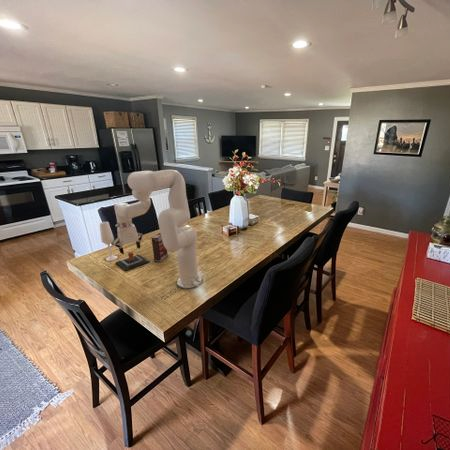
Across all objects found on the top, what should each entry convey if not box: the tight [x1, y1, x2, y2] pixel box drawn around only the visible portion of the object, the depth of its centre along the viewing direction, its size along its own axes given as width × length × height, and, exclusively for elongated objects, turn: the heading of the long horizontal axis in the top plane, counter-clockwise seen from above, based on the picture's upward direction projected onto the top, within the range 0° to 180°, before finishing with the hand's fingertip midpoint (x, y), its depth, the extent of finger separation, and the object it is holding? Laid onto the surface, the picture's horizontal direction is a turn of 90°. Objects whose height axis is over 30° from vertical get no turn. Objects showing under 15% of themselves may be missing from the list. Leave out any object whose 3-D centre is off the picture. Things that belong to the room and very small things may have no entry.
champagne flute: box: [99, 221, 118, 262], centre depth 149 cm, size 7×7×24 cm
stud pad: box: [125, 251, 139, 264], centre depth 146 cm, size 6×6×6 cm
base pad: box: [115, 254, 149, 272], centre depth 147 cm, size 14×14×2 cm
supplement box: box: [151, 232, 169, 263], centre depth 151 cm, size 9×5×16 cm, turn 168°
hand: (130, 250), depth 145 cm, fingers open, 9 cm apart
